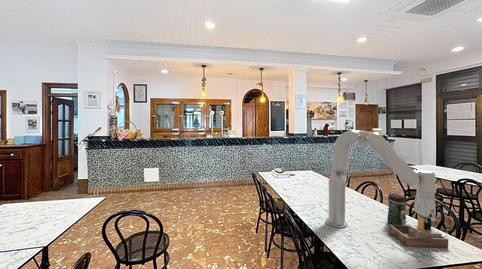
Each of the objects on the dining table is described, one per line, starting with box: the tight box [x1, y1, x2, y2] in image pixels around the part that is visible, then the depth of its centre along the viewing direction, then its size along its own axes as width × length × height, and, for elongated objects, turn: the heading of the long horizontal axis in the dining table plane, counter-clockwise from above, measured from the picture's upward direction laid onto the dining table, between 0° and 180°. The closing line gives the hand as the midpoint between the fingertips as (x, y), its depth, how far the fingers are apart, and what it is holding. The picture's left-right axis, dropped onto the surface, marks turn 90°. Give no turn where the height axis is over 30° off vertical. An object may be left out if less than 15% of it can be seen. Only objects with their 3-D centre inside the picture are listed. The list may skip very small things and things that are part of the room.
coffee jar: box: [386, 192, 408, 225], centre depth 146 cm, size 10×8×19 cm
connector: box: [417, 214, 431, 231], centre depth 125 cm, size 4×4×10 cm
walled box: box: [388, 224, 449, 249], centre depth 125 cm, size 16×20×6 cm
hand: (424, 227), depth 125 cm, fingers closed on connector, 4 cm apart
